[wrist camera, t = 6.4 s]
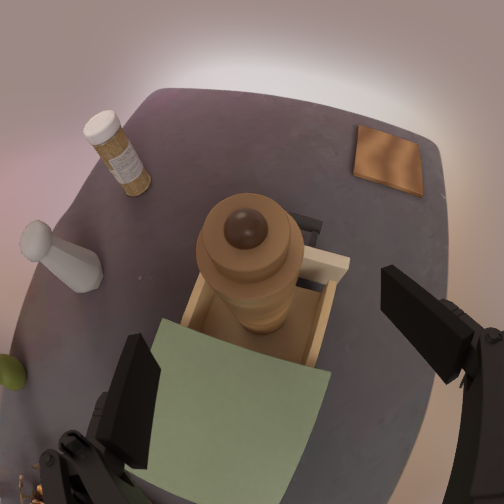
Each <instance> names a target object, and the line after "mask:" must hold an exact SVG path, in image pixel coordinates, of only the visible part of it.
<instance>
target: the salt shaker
mask: <svg viewBox="0 0 504 504" xmlns="http://www.w3.org/2000/svg"><path fill="white" fill-rule="evenodd" d="M20 250H21V253H22V254H23V255H24V256H25V257H26V258H27V259H28V260H30V261H32V262H38V261H40V262H41V263H42V264H44V265H45V266H46V267H47V268H48V269H49V270H50V271H51V272H52V273H54V274H55V275H56V276H57V277H58V278H59V279H60V280H62V281H63V282H64V283H65V284H66V285H67V286H69V287H70V288H71V289H72V290H74V291H75V292H78V293H85V292H88V291H91V290H94V289H98V287H99V285H100V283H101V281H102V279H103V277H104V275H103V271H102V267H101V263H100V260H99V258H98V256H97V254H96V253H94V252H92V251H91V250H89V249H86V248H83V247H80V246H78V245H75V244H72V243H70V242H67V241H65V240H62V239H60V238H58V237H55V236H53V234H52V231H51V228H50V227H49V226H48V225H47V224H46V223H44V222H42V221H40V220H35V221H33V222H31V223H30V224H29V225H27V226H26V228H25V230H24V231H23V233H22V235H21V238H20Z"/></svg>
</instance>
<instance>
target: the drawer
mask: <svg viewBox="0 0 504 504" xmlns="http://www.w3.org/2000/svg"><path fill="white" fill-rule="evenodd" d="M287 213H288V214H289V215H290V216H291V217H292V218H293V219H294V220H295V222H296V223H297V225H298V226H299V228H300V229H302V230H306V231H309V232H312V234H311V238H310V242H309V246H305V245H304V256H303V261H302V265H301V268H300V272H299V276H298V277H299V278H303V279H307V280H310V281H314V282H317V283H321V284H325V287H324V288H323V290H322V291H321V293H320V292H316V291H312V290H309V289H305V288H301V287H298V286H295V290H294V293H293V296H292V300H291V303H290V306H289V310H288V313H287V316H286V319H285V322H284V323H283V325H282V326H281V327H280V328H279V329H278V330H277V331H275V332H273V333H271V334H268V335H256V334H253V333H251V332H249V331H247V330H246V329H245V328H244V327H243V326H242V325H241V324H240V322H239V321H238V320H237V319H236V318H235V316H234V315H233V314H232V313H231V311H230V310H229V309H228V308H227V307H226V305H225V304H224V303H223V302H222V300H221V299H220V298H219V297H218V295H217V294H216V293H215V292H214V290H213V289H212V288H211V287H210V285H209V284H208V283H207V281H206V280H205V279H204V277H203V276H202V274H201V272H200V273H199V276H198V278H197V281H196V283H195V286H194V289H193V291H192V294H191V296H190V299H189V302H188V304H187V307H186V309H185V312H184V315H183V317H182V320H181V323H180V325H182V326H185V327H187V328H190V329H192V330H195V331H198V332H200V333H203V334H206V335H209V336H211V337H214V338H217V339H220V340H223V341H226V342H229V343H232V344H235V345H238V346H241V347H244V348H247V349H250V350H253V351H256V352H259V353H263V354H266V355H269V356H273V357H276V358H280V359H283V360H287V361H290V362H294V363H298V364H301V365H305V366H309V367H313V368H314V367H315V364H316V361H317V358H318V354H319V351H320V347H321V344H322V340H323V337H324V333H325V329H326V326H327V322H328V318H329V314H330V310H331V306H332V302H333V298H334V294H335V290H336V285H337V283H338V282H339V281H340V280H341V278H342V277H343V276H344V274H345V273H346V272H347V270H348V267H349V262H350V258H349V257H345V256H341V255H338V254H334V253H331V252H327V251H323V250H320V249H316V248H314V247H315V243H316V239H317V235H318V234H320V231H321V227H322V221H320V220H316V219H312V218H309V217H305V216H301V215H297V214H293V213H289V212H287Z"/></svg>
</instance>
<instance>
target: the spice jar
mask: <svg viewBox="0 0 504 504" xmlns="http://www.w3.org/2000/svg"><path fill="white" fill-rule="evenodd" d="M83 134H84V136H85V138H86V139H87V140H88V142H89V143H90V144H91V145H92V146H93V147H94V148H95V150H96V151H97V152H98V154H99V155H100V157H101V158H102V160H103V161H104V163H105V165H106V166H107V167H108V169H109V170H110V172H111V173H112V175H113V176H114V177H115V179H116V180H117V181H118V182H119V183H120V185H121V186H122V187H123V189H124V191H125V193H126V194H127V195H129V196H138V195H140V194H142V193H143V192H145V191H146V190H147V189H148V187H149V185H150V183H151V177H150V175H149V174H148V173H147V172H146V170H145V169H144V167H143V164H142V162H141V160H140V158H139V157H138V155H137V153H136V151H135V150H134V148H133V146H132V144H131V143H130V141H129V139H128V138H127V136H126V135H125V133H124V131H123V129H122V128H121V125H120V121H119V119H118V117H117V115H116V114H115V112H114V111H112V110H106V111H103V112H100V113H98V114H97V115H95V116H94V117H92V118H91V119H90V120H89V121H88V122H87V124H86V125H85V127H84V129H83Z"/></svg>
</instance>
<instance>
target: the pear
mask: <svg viewBox="0 0 504 504" xmlns="http://www.w3.org/2000/svg"><path fill="white" fill-rule="evenodd" d="M25 382H26V372H25V369H24V366H23V365H22V363H21V362H20V361H19V360H18V359H16V358H15V357H13V356H10V355H6V354H0V384H2V385H3V386H4V387H6V388H7V389H9V390H12V391H17V390H20V389H21V388H22V387H23V386H24V385H25Z"/></svg>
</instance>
